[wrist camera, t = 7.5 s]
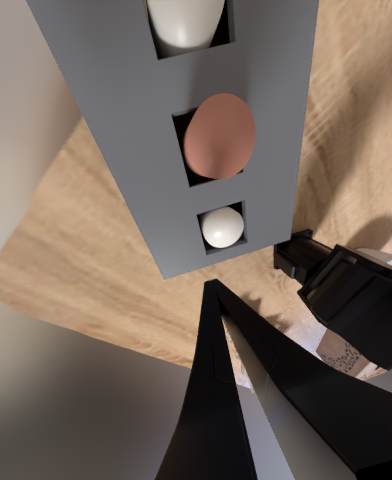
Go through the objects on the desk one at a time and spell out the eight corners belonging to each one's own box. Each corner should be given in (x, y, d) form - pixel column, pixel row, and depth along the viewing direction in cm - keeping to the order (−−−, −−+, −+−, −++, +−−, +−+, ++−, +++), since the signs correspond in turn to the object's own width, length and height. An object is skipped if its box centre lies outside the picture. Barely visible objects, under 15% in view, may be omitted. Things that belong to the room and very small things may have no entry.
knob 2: (225, 195, 18) (242, 203, 14) (229, 226, 20) (244, 240, 16) (192, 205, 17) (199, 216, 13) (199, 235, 19) (208, 252, 16)
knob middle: (225, 112, 12) (254, 84, 8) (230, 169, 14) (256, 169, 10) (175, 125, 11) (179, 103, 8) (188, 181, 14) (197, 186, 10)
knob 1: (199, -7, 10) (219, -116, 6) (210, 77, 12) (230, 35, 8) (141, 5, 10) (124, -100, 6) (162, 89, 12) (160, 51, 8)
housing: (268, -59, 10) (346, -232, 6) (264, 224, 21) (290, 239, 17) (46, -14, 9) (-62, -178, 5) (164, 256, 20) (164, 279, 16)
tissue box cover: (335, 308, 39) (383, 348, 31) (379, 294, 41) (437, 329, 32) (315, 350, 52) (344, 387, 43) (348, 338, 53) (384, 372, 44)
